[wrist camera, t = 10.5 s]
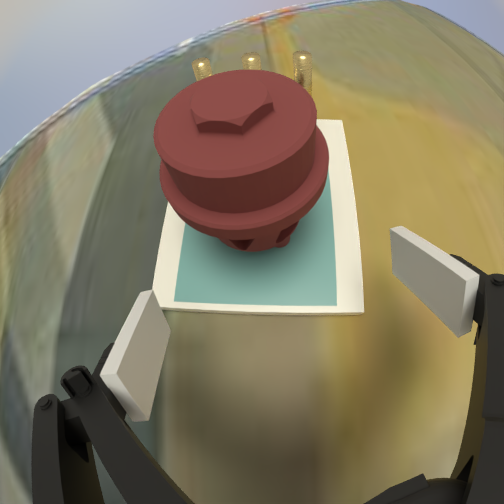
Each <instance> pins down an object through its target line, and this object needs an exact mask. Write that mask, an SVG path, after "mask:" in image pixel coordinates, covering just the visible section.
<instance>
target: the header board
mask: <svg viewBox="0 0 504 504" xmlns="http://www.w3.org/2000/svg"><path fill="white" fill-rule="evenodd" d="M316 125H317V126H318V128H319V129H320V130H321V132H322V134H323V135H324V137H325V139H326V142H327V146H328V150H329V166H328V174H327V180H326V184H325V187H324V190H323V192H322V195H321V196H320V198H319V200H318V201H317V203H316V204H315V205H314V207H313V208H312V209H311V210H310V211H309V212H308V213H307V214H306V215H305V216H304V217H302V218H301V219H300V220H299V223H298V225H297V227H296V229H295V230H294V232H293V233H292V234H291V235H290V242H289V243H288V244H287V245H286V246H284V247H281V248H277V247H273V248H270V249H268V250H264V251H257V252H246V251H240V250H236V249H233V248H231V247H229V246H227V245H226V244H224V243H223V242H221V241H220V240H219V239H218V238H217V237H212V236H209V235H206V234H204V233H201V232H199V231H197V230H195V229H194V228H192V227H190V226H189V225H188V224H186V223H185V222H184V221H183V220H182V219H181V218H180V217H179V216H178V215H177V213H176V212H175V211H174V209H173V208H172V206H171V205H170V203H169V202H168V206H167V210H166V215H165V220H164V225H163V230H162V235H161V241H160V246H159V251H158V257H157V263H156V269H155V275H154V281H153V288H152V290H153V291H154V293H155V296H156V298H157V300H158V303H159V305H160V307H161V310H174V311H189V312H207V313H227V314H254V315H361V314H363V313H364V298H363V280H362V265H361V252H360V241H359V231H358V222H357V213H356V205H355V197H354V190H353V183H352V176H351V169H350V163H349V157H348V151H347V145H346V140H345V134H344V129H343V124H342V120H319V119H317V122H316Z"/></svg>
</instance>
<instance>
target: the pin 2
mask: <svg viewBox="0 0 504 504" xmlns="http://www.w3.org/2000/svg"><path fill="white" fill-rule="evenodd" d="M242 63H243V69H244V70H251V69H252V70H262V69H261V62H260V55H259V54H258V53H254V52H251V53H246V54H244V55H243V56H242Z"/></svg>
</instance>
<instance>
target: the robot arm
mask: <svg viewBox="0 0 504 504" xmlns="http://www.w3.org/2000/svg"><path fill="white" fill-rule="evenodd" d="M390 238H391V252H392V272H393V274H394V275H395V276H396V277H397V278H398V279H399V280H400V281H401V282H402V283H403V284H404V285H406V286H407V287H408V288H409V289H410V290H411V291H412V292H413V293H414V294H415V295H416V296H417V297H418V298H419V299H420V300H421V301H422V302H423V303H424V304H425V305H426V306H427V307H428V308H429V309H430V310H431V311H432V312H433V313H434V314H435V315H436V316H437V317H438V318H439V319H440V320H441V321H442V322H443V323H444V324H445V325H446V326H447V327H448V328H449V329H450V330H451V331H452V332H453V333H454V334H455V335H456V336H457V337H460V336H462V335H464V334H466V333H468V332H470V331H471V328H472V323H473V320H474V321H475V322H476V323H478V327H477V332H476V337H475V341H474V345H476V353H475V365H474V375H473V383H472V391H471V397H470V404H469V410H468V415H467V420H466V425H465V430H464V435H463V439H462V443H461V448H460V452H459V455H458V459H457V462H456V465H455V468H454V470H453V472H452V474H451V477H450V478H436V479H429V480H426V478H425V476H424V474H420V475H418V476H416V477H414V478H412V479H409V480H407V481H405V482H402V483H400V484H398V485H395V486H393V487H390V488H389V489H387V490H385V491H384V492H382V493H381V494H379V495H378V496H376V497H374V498H373V499H371V500H369V501H368V502H366V503H364V504H504V275H503V274H491V275H487V274H486V273H484V272H483V271H481V270H480V269H478V268H477V267H475V266H474V265H473V266H472V264H471V263H469V262H467V261H466V260H464V259H463V258H461V257H459V256H456V255H453V254H450V255H449V254H447V253H446V252H444V251H442V250H441V249H439V248H438V247H436V246H434V245H433V244H431V243H430V242H428V241H426V240H425V239H423V238H421V237H420V236H418V235H416V234H415V233H413V232H411V231H410V230H408V229H406V228H404V227H403V226H398V227H394V228H391V229H390ZM170 333H171V330H170V328H169V325H168V323H167V321H166V319H165V316H164V314H163V312H162V310H161V307H160V305H159V303H158V300H157V298H156V296H155V293H154V291H153V290H149V291H145V292H140V294H139V296H138V298H137V300H136V302H135V304H134V306H133V308H132V310H131V312H130V313H129V315H128V317H127V319H126V321H125V323H124V325H123V327H122V329H121V331H120V333H119V335H118V337H117V339H116V341H115V343H111V344H110V345H109V346H108V347H107V348H106V349H105V350H104V352H103V354H102V356H101V359H100V360H99V362H98V365H97V366H96V368H95V370H94V372H93V374H92V375H91V374H90V372H89V371H88V369H87V368H86V367H85V366H75V367H73V368H71V369H70V370H68V371H67V372H66V373H65V374H64V375H63V376H62V378H61V385H62V387H63V388H64V389H65V391H66V392H67V393H68V395H69V396H70V397H71V398H70V399H67V400H64V401H61V402H60V400H59V399H58V398H57V396H55V395H54V394H48V395H45V396H44V397H41V399H39V400H38V402H37V403H36V405H35V408H34V418H33V433H32V493H33V504H105V503H104V499H103V495H102V491H101V487H100V483H99V479H98V474H97V470H96V465H95V460H94V455H93V449H92V444H93V446H94V448H95V450H96V452H97V454H98V456H99V457H100V459H101V461H102V463H103V465H104V466H105V468H106V470H107V472H108V473H109V475H110V477H111V478H112V480H113V482H114V483H115V485H116V487H117V488H118V490H119V491H120V493H121V494H122V496H123V498H124V499H125V501H126V502H127V504H194V503H193V502H192V501H191V500H190V499H189V497H188V496H187V495H186V494H185V493H184V492H183V491H182V490H181V489H180V488H179V487H178V486H177V485H176V484H175V483H174V481H173V480H172V479H171V478H170V477H169V476H168V475H167V474H166V472H165V471H164V470H163V469H162V468H161V467H160V465H159V464H158V463H157V462H156V461H155V459H154V458H153V457H152V456H151V454H150V453H149V452H148V451H147V449H146V448H145V447H144V446H143V444H142V443H141V442H140V440H139V439H138V438H137V436H136V435H135V434H134V432H133V431H132V430H131V428H130V427H129V425H128V424H127V423H126V422H125V420H124V419H125V416H126V413H127V414H128V416H129V417H130V418H131V420H132V421H133V422H135V421H149V418H150V413H151V409H152V404H153V400H154V396H155V392H156V387H157V383H158V379H159V375H160V371H161V367H162V363H163V359H164V355H165V352H166V348H167V344H168V340H169V336H170ZM91 442H92V443H91Z"/></svg>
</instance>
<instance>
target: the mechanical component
mask: <svg viewBox="0 0 504 504" xmlns="http://www.w3.org/2000/svg"><path fill="white" fill-rule="evenodd" d="M316 122H317V110H316V106H315V103H314V101H313V99H312V97H311V95H310V94H309V93H308V92H307V90H306V89H305V88H304V87H302V86H301V85H300V84H299V83H297V82H296V81H294V80H292V79H290V78H288V77H286V76H283V75H281V74H277V73H274V72H269V71H264V70H252V69H251V70H234V71H228V72H223V73H218V74H215V75H212V76H209V77H206V78H204V79H201V80H199V81H197V82H195V83H193V84H191V85H189V86H188V87H186V88H185V89H183V90H182V91H180V92H179V93H178V94H177V95H176V96H174V97H173V98H172V99H171V100H170V101H169V102H168V103H167V104H166V106H165V107H164V108H163V110H162V111H161V113H160V115H159V117H158V119H157V121H156V124H155V128H154V143H155V147H156V149H157V152H158V154H159V155H160V157H161V159H162V160H161V165H160V182H161V187H162V190H163V192H164V195H165V197H166V199H167V200H168V202H169V203H170V205H171V206H172V208H173V209H174V211H175V212H176V213H177V215H178V216H179V217H180V218H181V219H182V220H183V221H184V222H185V223H186V224H188V225H189V226H190V227H192V228H194V229H195V230H197V231H199V232H201V233H204V234H206V235H209V236H212V237H217V238H218V239H219V240H220V241H221V242H223V243H224V244H226V245H227V246H229V247H231V248H233V249H236V250H240V251H246V252H257V251H264V250H268V249H270V248H273V247H277V248H281V247H284V246H286V245H287V244H288V243H289V242H290V235H291V234H292V233H293V232H294V230H295V229H296V227H297V225H298V223H299V220H300V219H301V218H302V217H304V216H305V215H306V214H307V213H308V212H309V211H310V210H311V209H312V208H313V207H314V205H315V204H316V203H317V201H318V200H319V198H320V196H321V195H322V192H323V190H324V187H325V184H326V180H327V174H328V166H329V150H328V146H327V142H326V139H325V137H324V135H323V134H322V132H321V130H320V129H319V128H318V126H317V125H316Z"/></svg>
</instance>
